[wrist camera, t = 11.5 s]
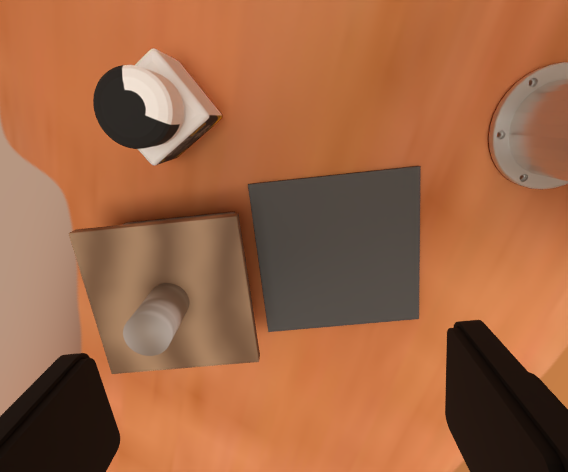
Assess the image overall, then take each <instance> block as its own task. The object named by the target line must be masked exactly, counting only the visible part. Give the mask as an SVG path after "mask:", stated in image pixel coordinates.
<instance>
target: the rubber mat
mask: <svg viewBox="0 0 568 472" xmlns="http://www.w3.org/2000/svg"><path fill="white" fill-rule="evenodd" d="M248 189H249V196H250V203H251V210H252V217H253V224H254V232H255V239H256V246H257V253H258V260H259V267H260V275H261V282H262V289H263V296H264V303H265V310H266V317H267V325H268V332H274V331H285V330H297V329H308V328H319V327H331V326H342V325H354V324H365V323H377V322H388V321H400V320H411V319H419V262H420V166H415V167H405V168H396V169H386V170H377V171H367V172H358V173H348V174H339V175H329V176H320V177H311V178H301V179H292V180H282V181H273V182H263V183H254V184H248Z"/></svg>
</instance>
